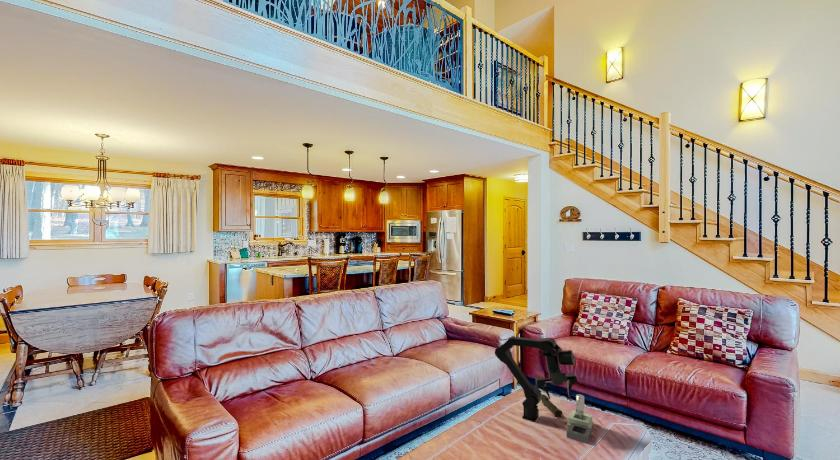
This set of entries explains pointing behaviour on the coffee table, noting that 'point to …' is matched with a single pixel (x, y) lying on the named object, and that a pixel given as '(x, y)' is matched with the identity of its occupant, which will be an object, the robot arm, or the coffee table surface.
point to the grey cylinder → (580, 406)
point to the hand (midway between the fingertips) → (559, 398)
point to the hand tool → (551, 406)
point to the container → (586, 422)
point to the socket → (579, 433)
